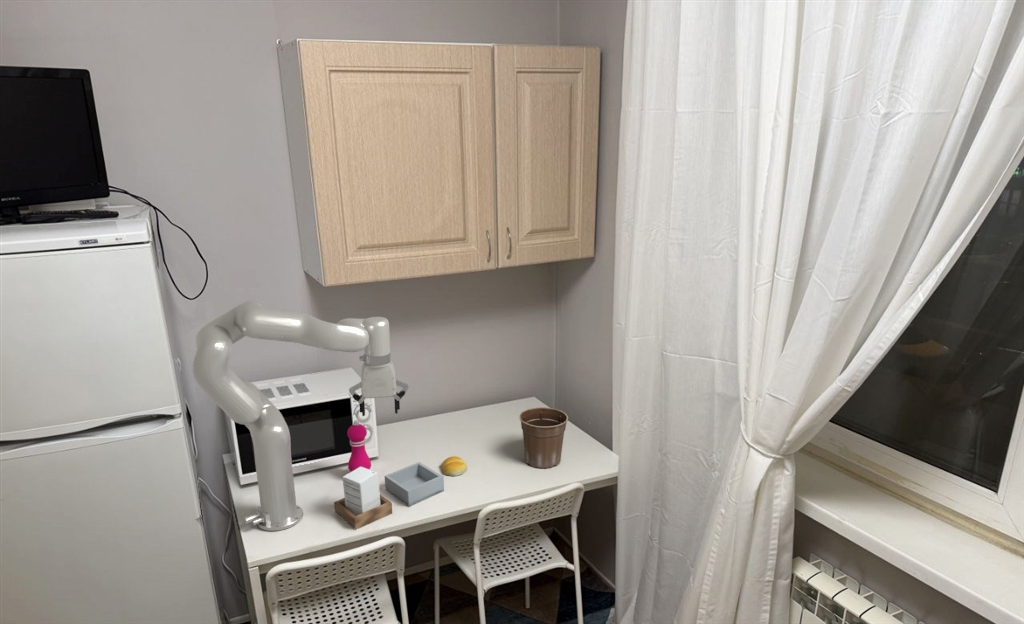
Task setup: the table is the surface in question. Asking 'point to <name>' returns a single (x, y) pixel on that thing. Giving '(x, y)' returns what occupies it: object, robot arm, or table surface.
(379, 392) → the robot arm
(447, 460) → the bread roll
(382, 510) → the walnut frame
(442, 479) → the grey bin
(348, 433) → the pepper mill
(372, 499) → the supplement box
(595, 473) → the table surface
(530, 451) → the plant pot
